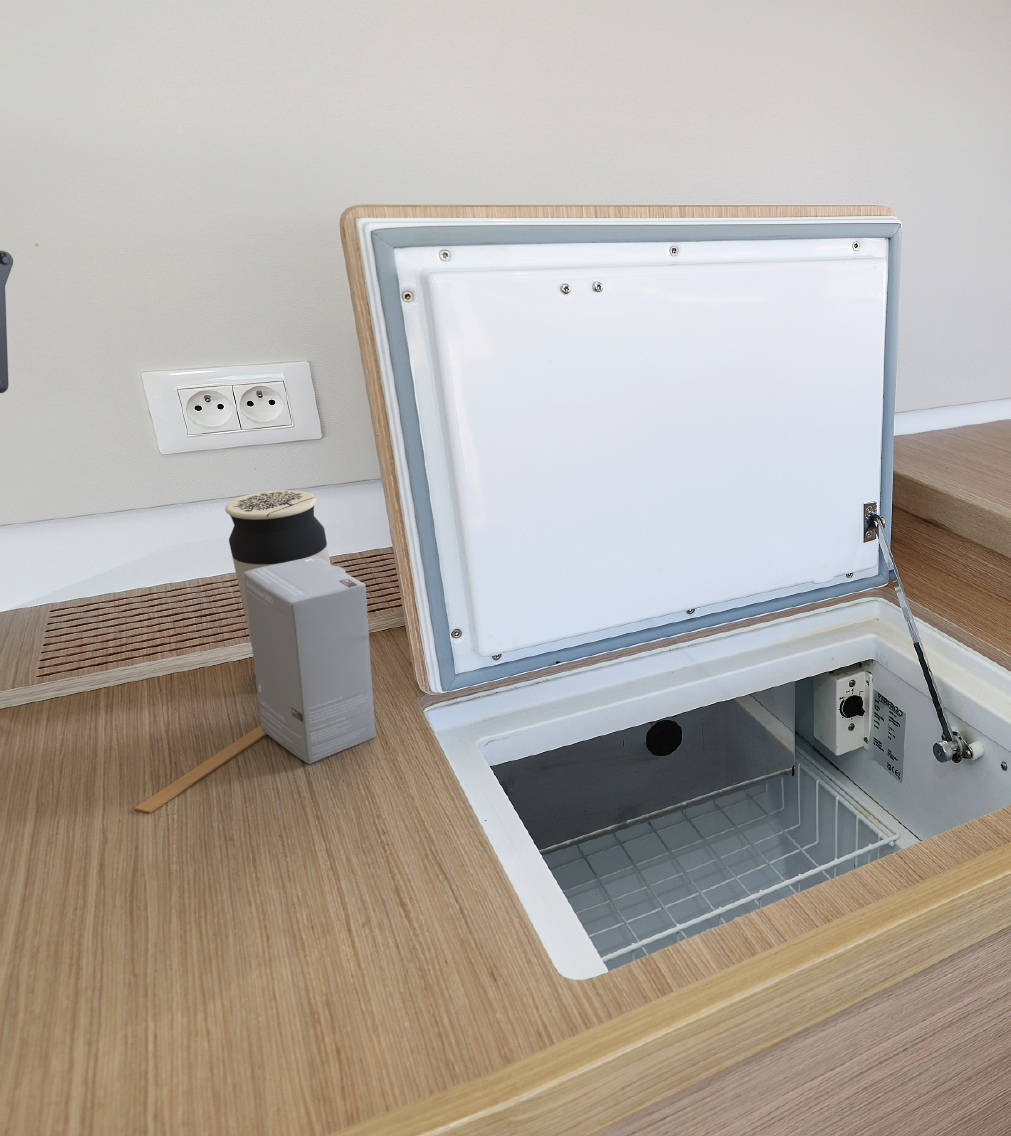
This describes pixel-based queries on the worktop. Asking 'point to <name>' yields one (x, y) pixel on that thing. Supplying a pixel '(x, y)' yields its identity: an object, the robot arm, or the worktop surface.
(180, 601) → the worktop surface
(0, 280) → the robot arm
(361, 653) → the cosmetic box
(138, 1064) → the worktop surface
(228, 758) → the wooden strip
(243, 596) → the travel mug
